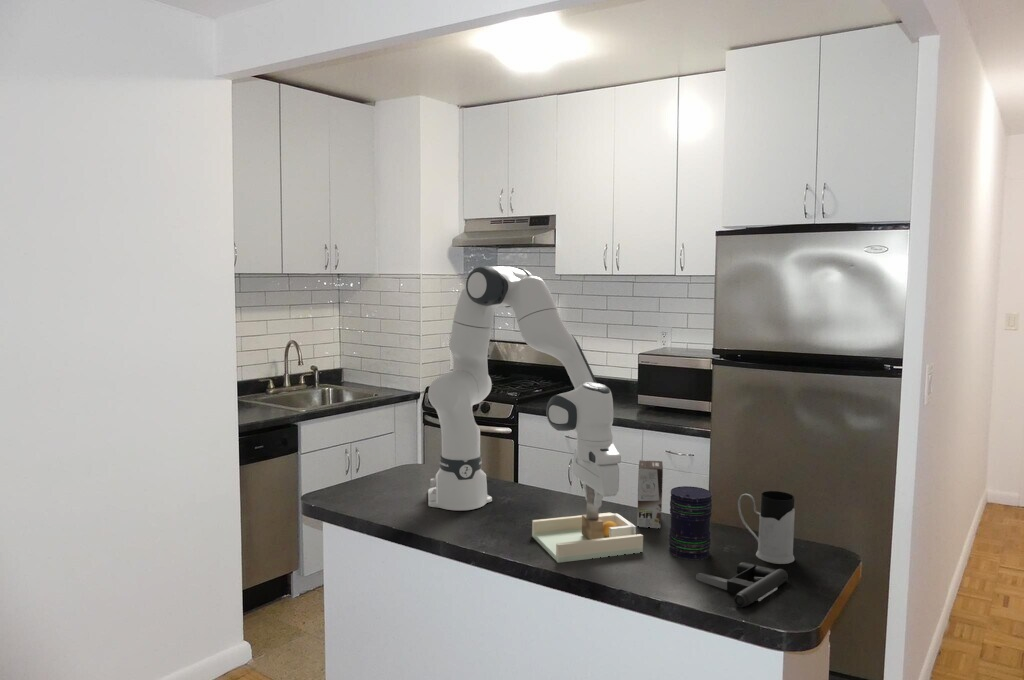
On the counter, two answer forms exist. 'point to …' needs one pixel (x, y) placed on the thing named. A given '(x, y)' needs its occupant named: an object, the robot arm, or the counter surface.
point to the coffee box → (650, 494)
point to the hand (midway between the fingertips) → (593, 503)
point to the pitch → (571, 545)
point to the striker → (591, 519)
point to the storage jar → (690, 522)
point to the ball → (606, 527)
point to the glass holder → (774, 526)
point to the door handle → (748, 582)
